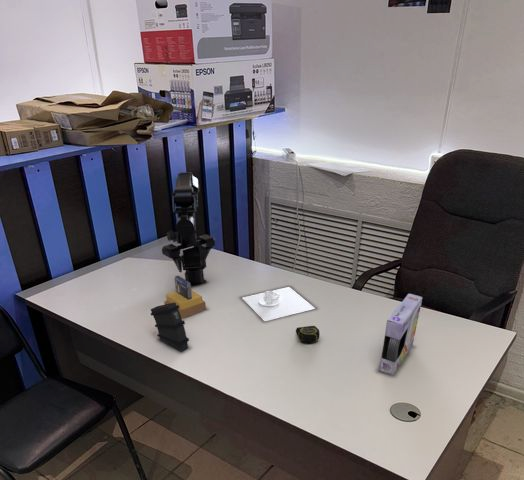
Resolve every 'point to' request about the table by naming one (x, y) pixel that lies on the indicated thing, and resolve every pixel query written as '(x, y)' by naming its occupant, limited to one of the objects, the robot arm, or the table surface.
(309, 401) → the table surface
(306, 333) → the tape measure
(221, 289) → the table surface
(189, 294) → the mini dv tape
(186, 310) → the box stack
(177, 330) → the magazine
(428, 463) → the table surface
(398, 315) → the cake pan box
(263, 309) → the white piece
